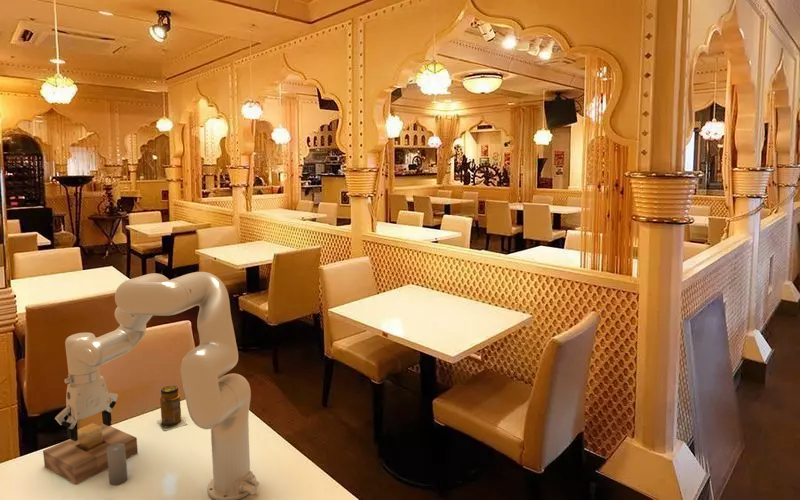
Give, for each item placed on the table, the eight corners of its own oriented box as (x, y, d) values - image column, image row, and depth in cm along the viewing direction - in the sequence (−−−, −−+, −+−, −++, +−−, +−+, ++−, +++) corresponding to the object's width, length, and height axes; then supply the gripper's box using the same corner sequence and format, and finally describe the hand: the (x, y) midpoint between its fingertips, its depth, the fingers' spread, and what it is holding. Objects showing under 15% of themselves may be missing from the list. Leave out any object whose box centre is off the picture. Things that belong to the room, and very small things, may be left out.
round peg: (131, 478, 144) (128, 445, 142) (115, 487, 140) (112, 453, 139) (121, 473, 146) (118, 441, 145) (106, 482, 143) (103, 448, 141)
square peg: (104, 458, 154) (101, 426, 152) (89, 465, 150) (86, 433, 148) (95, 454, 156) (92, 423, 154) (80, 461, 152) (77, 429, 150)
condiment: (179, 415, 180) (177, 382, 178) (187, 424, 174) (185, 391, 172) (156, 421, 176) (154, 388, 174) (164, 431, 169) (161, 397, 167)
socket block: (137, 452, 157) (136, 437, 156) (76, 484, 141) (74, 467, 140) (106, 438, 165) (105, 423, 164) (44, 466, 149) (42, 450, 148)
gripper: (59, 390, 139) (66, 449, 142) (121, 368, 154) (126, 422, 157) (45, 384, 143) (52, 442, 146) (106, 363, 158) (112, 416, 161)
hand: (90, 431), depth 151 cm, fingers open, 9 cm apart
